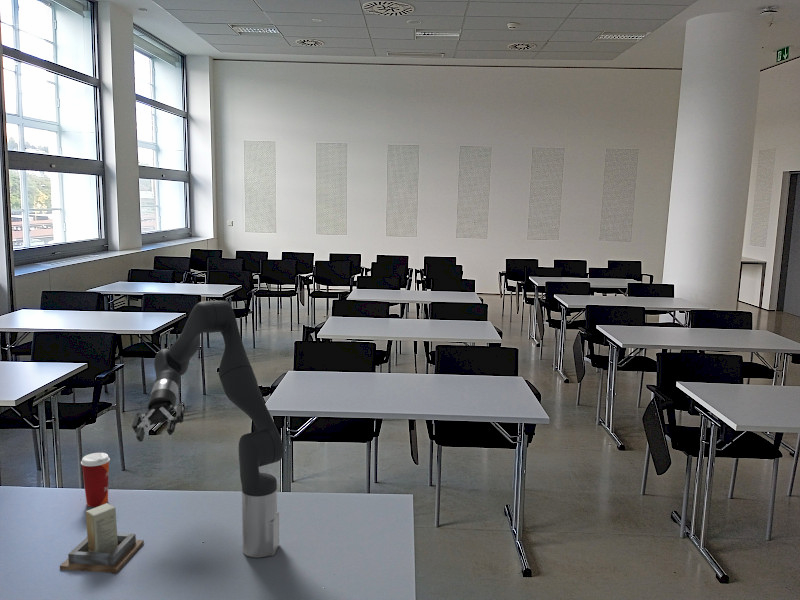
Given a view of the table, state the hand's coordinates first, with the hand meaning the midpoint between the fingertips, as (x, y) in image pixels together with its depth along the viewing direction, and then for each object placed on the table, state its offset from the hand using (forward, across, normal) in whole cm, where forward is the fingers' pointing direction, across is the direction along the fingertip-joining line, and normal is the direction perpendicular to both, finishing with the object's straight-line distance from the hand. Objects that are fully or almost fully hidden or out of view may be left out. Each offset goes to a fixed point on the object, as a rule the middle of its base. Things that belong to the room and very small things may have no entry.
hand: (154, 436), depth 188 cm
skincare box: (+24, -16, +15) cm, 32 cm away
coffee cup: (-6, -30, +27) cm, 41 cm away
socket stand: (+24, -16, +15) cm, 33 cm away
